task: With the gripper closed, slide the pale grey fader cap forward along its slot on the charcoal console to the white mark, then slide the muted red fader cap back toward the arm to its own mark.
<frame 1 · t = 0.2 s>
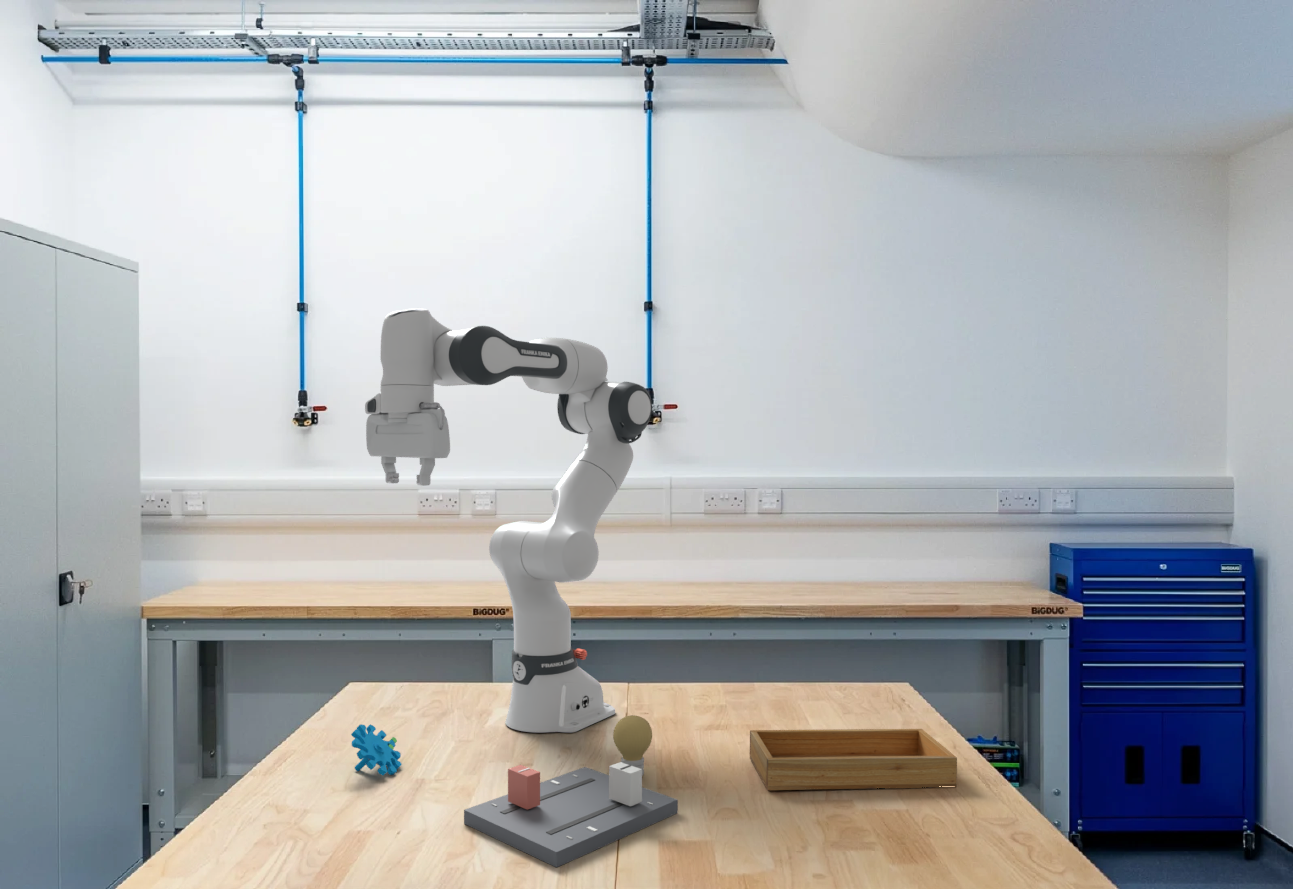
hand: (407, 484, 159), 48 cm above the table, fingers open, 8 cm apart
tray: (849, 777, 155), on the table
grey fader: (625, 783, 138), point 5 cm above the table, slide at 2.0 cm
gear: (378, 772, 156), on the table
light bulb: (632, 778, 153), on the table
red fader: (523, 786, 137), point 5 cm above the table, slide at 13.0 cm
console: (572, 818, 137), on the table
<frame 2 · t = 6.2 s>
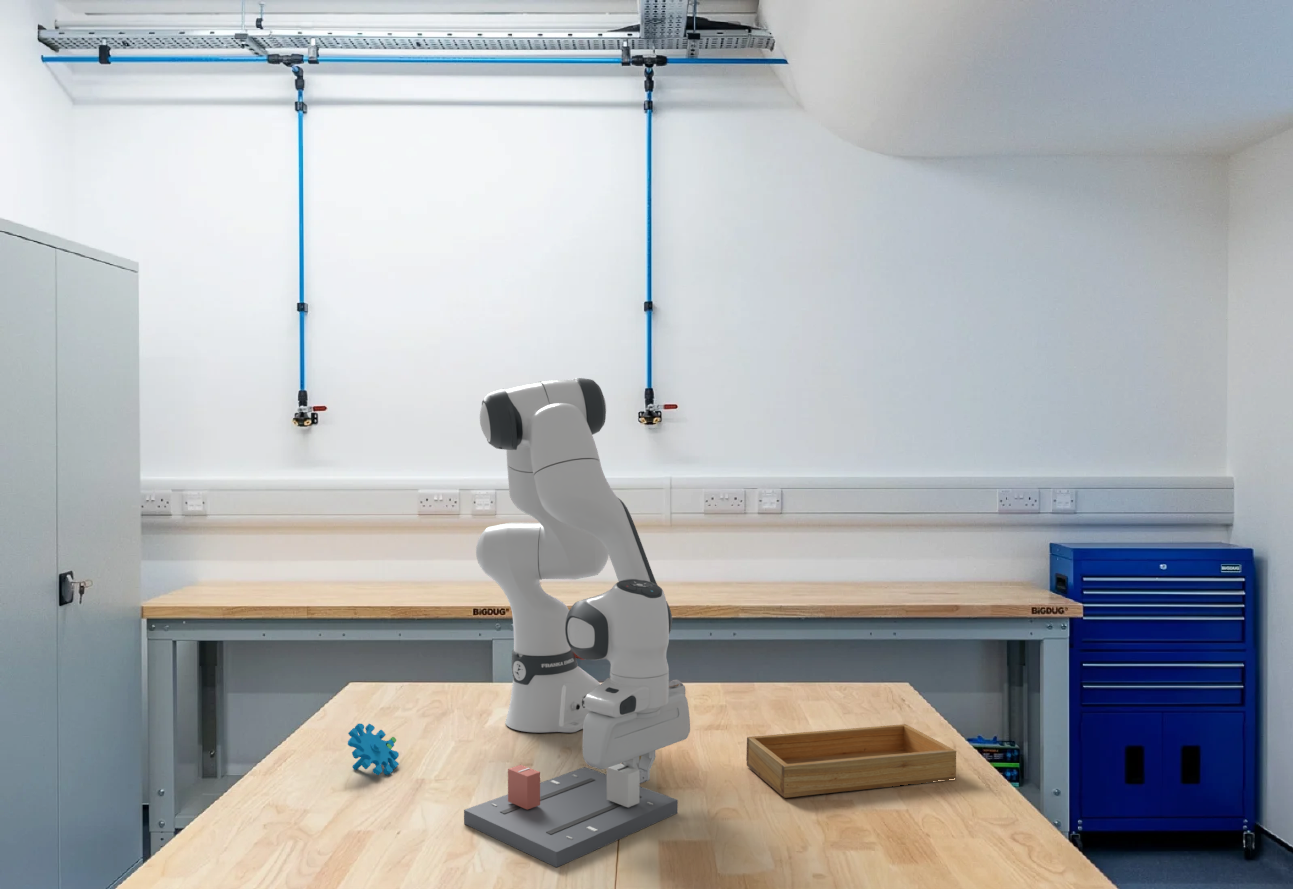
hand: (639, 782, 140), 4 cm above the table, fingers closed
grey fader: (622, 784, 137), point 5 cm above the table, slide at 2.5 cm, touching gripper
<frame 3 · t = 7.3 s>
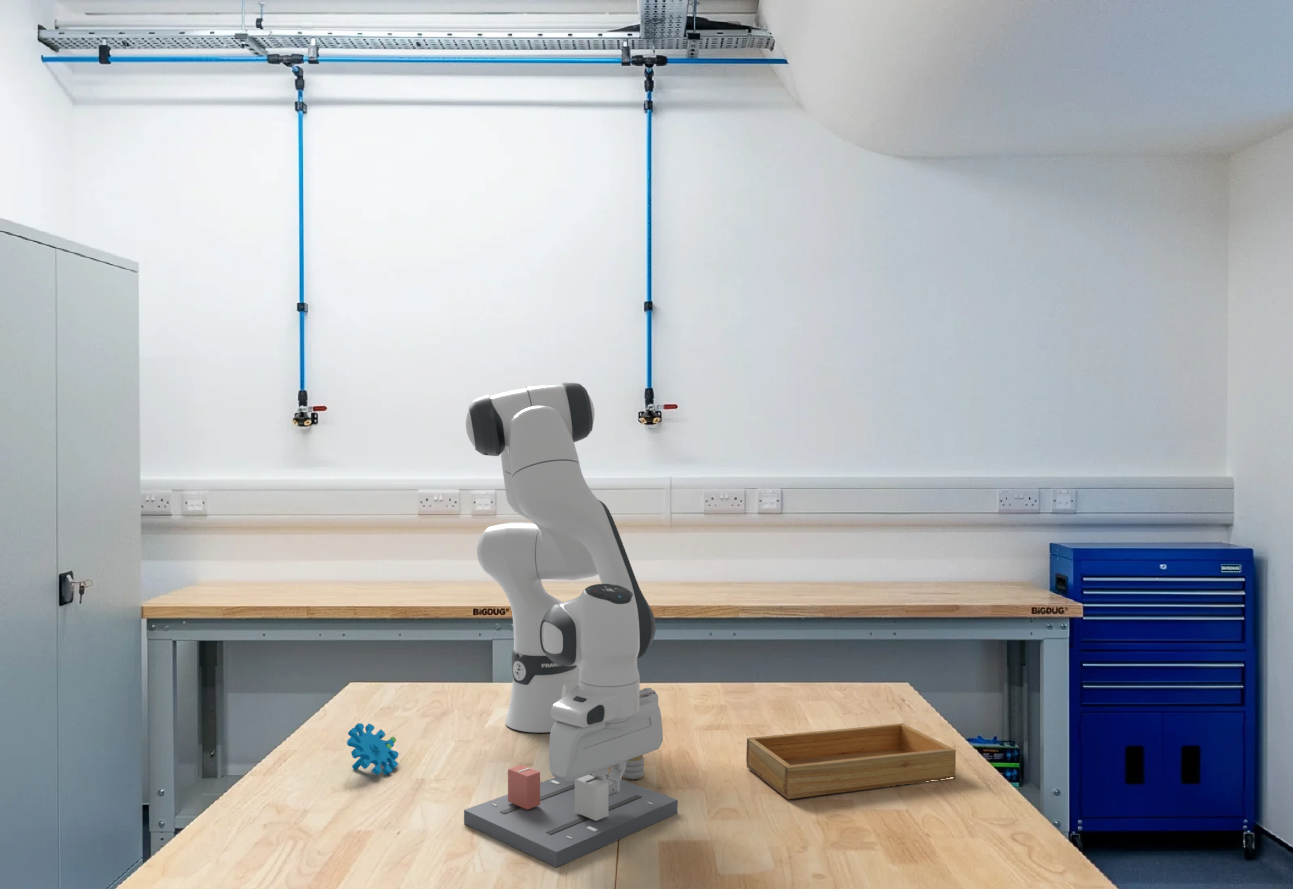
hand: (608, 794, 135), 4 cm above the table, fingers closed
grey fader: (591, 796, 133), point 5 cm above the table, slide at 8.9 cm, touching gripper
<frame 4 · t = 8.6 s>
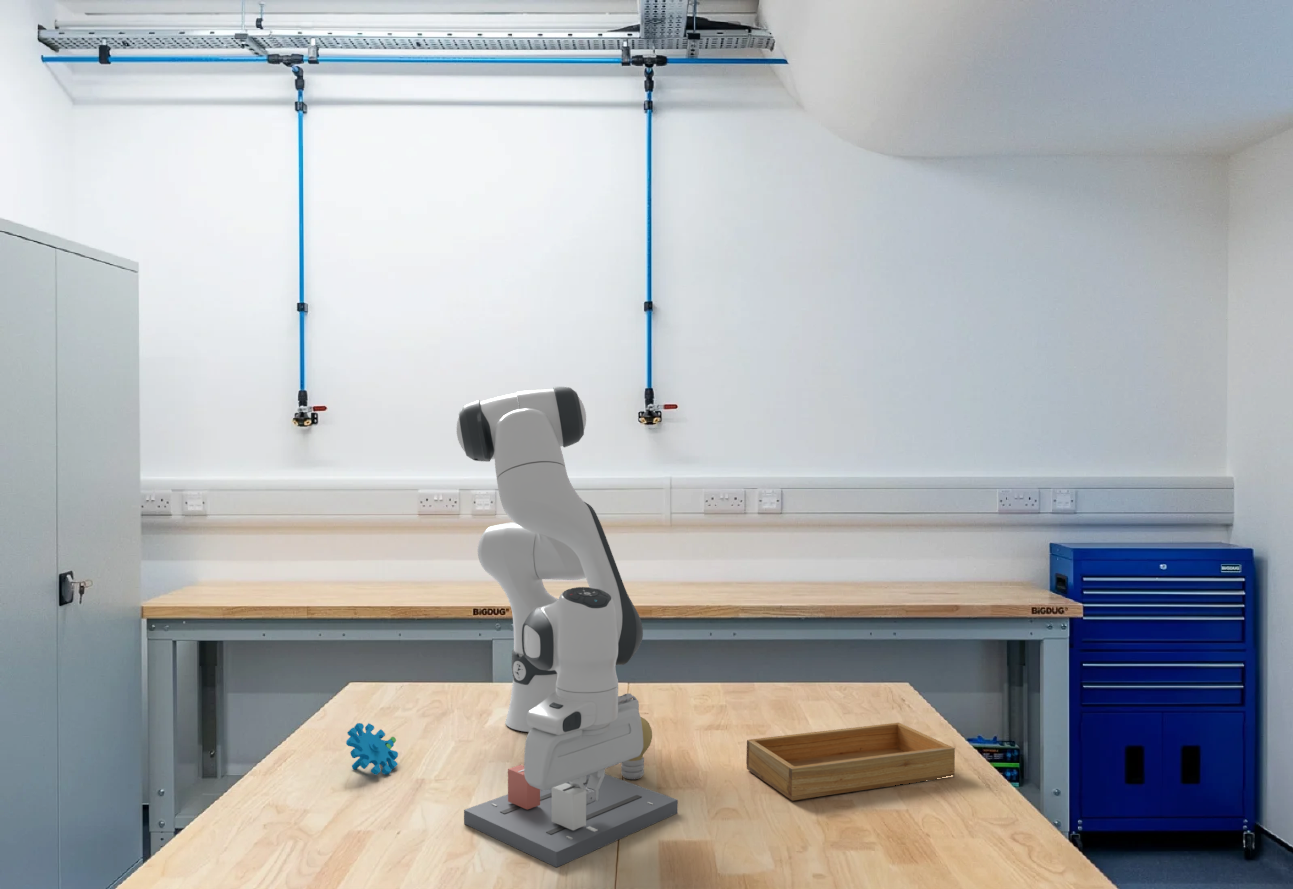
hand: (586, 803, 132), 4 cm above the table, fingers closed
grey fader: (568, 805, 130), point 5 cm above the table, slide at 13.3 cm, touching gripper
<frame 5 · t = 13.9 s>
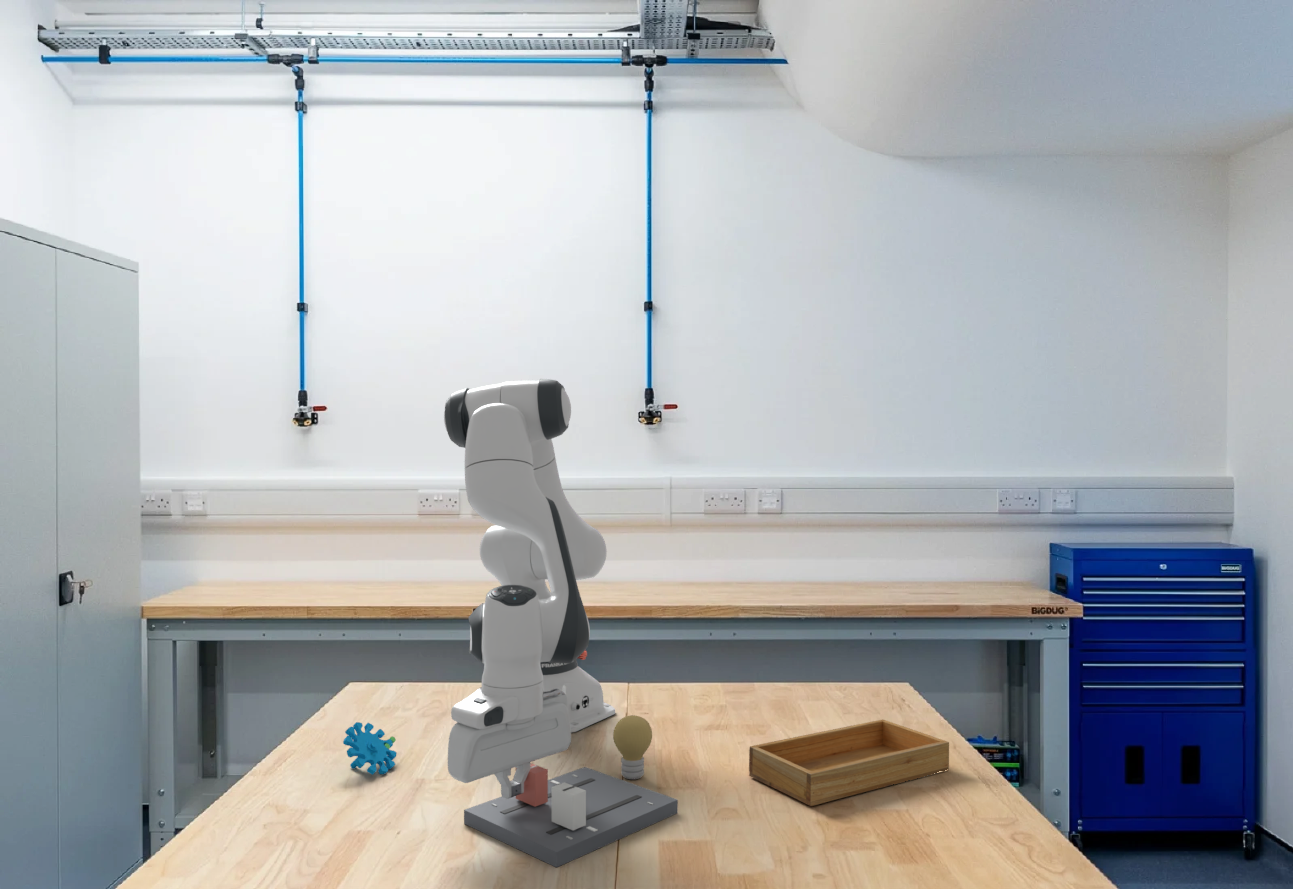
hand: (512, 795, 135), 4 cm above the table, fingers closed
grey fader: (568, 805, 130), point 5 cm above the table, slide at 13.3 cm
red fader: (531, 783, 138), point 5 cm above the table, slide at 11.5 cm, touching gripper
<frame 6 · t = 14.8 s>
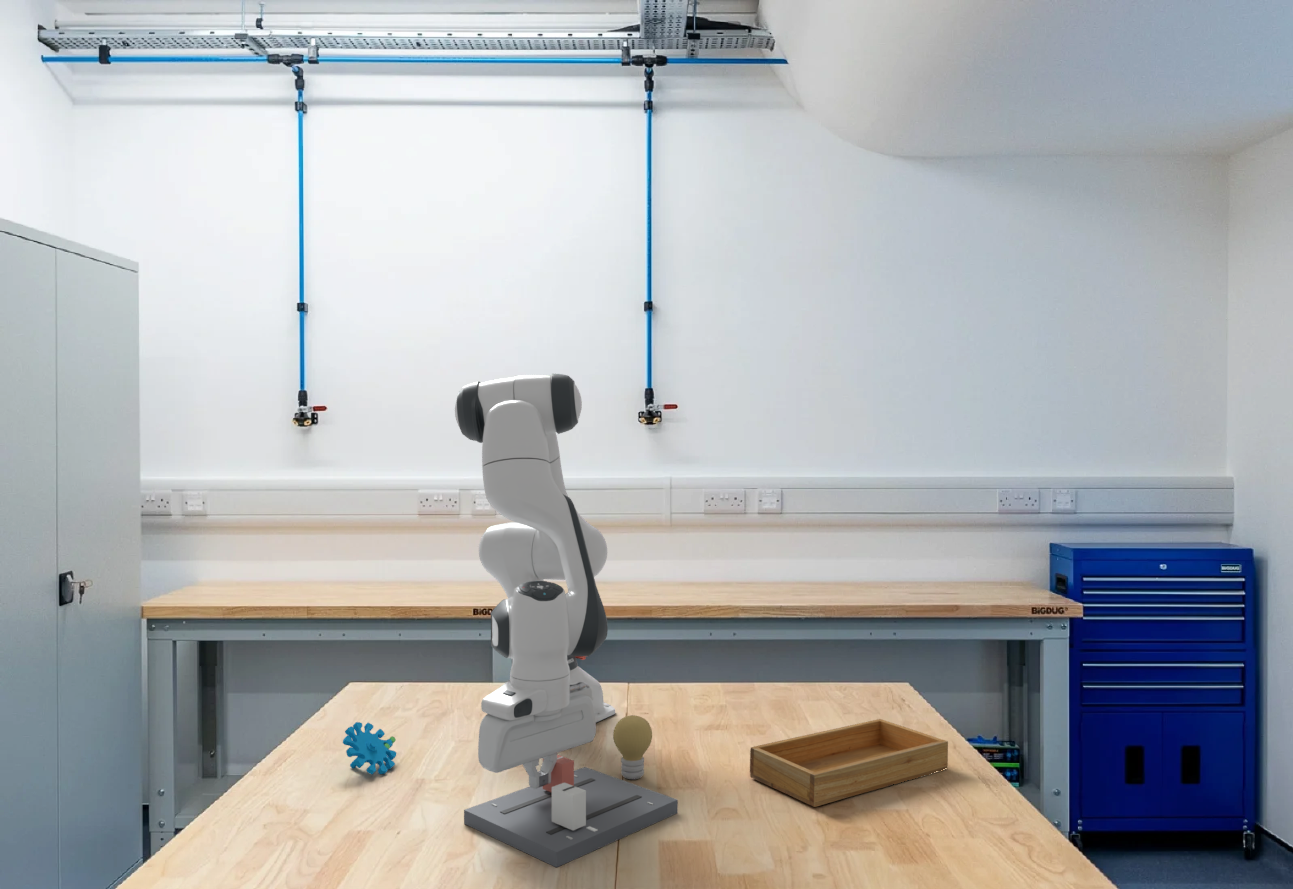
hand: (540, 785, 139), 4 cm above the table, fingers closed
red fader: (558, 774, 141), point 5 cm above the table, slide at 6.3 cm, touching gripper
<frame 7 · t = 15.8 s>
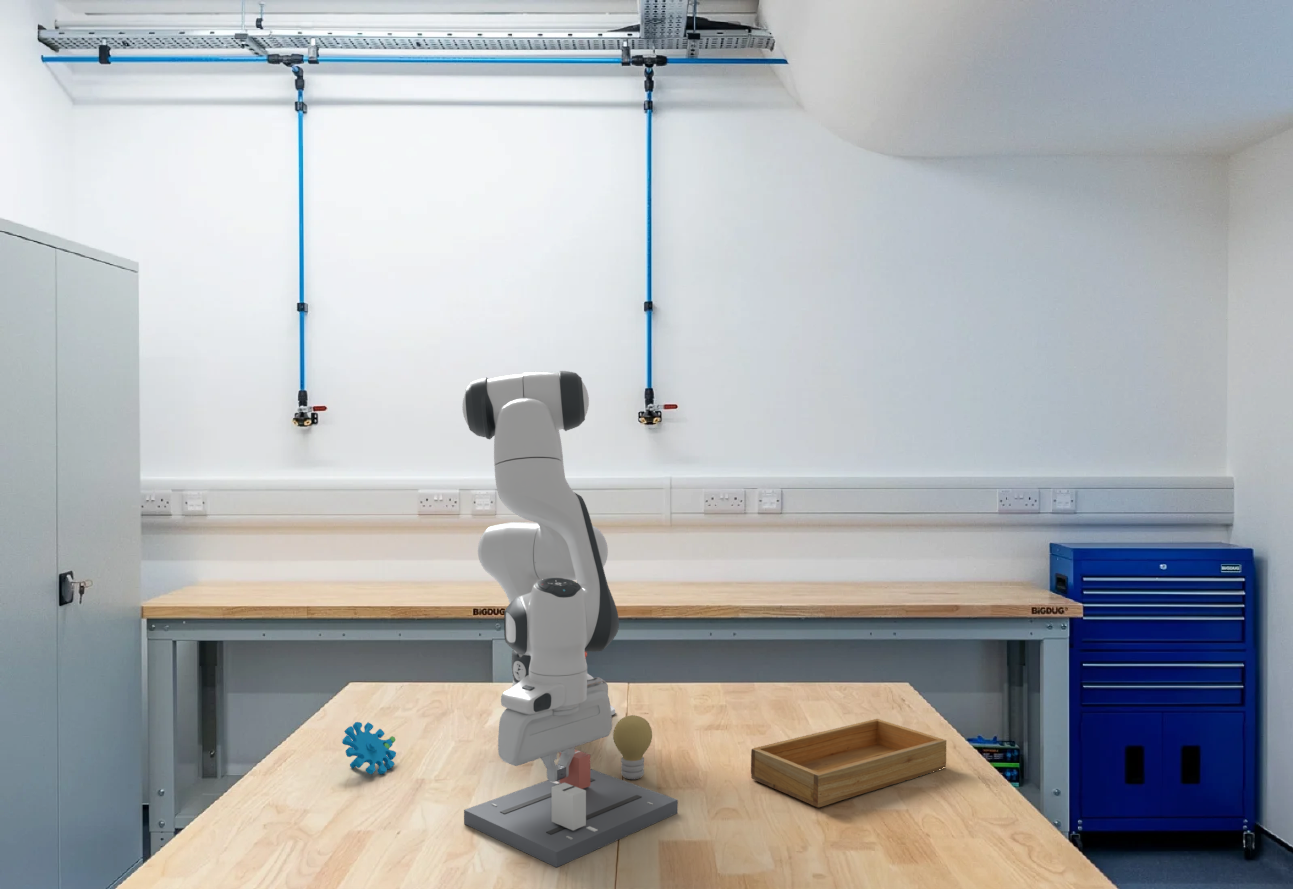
hand: (557, 778, 142), 4 cm above the table, fingers closed
red fader: (574, 768, 144), point 5 cm above the table, slide at 2.9 cm, touching gripper
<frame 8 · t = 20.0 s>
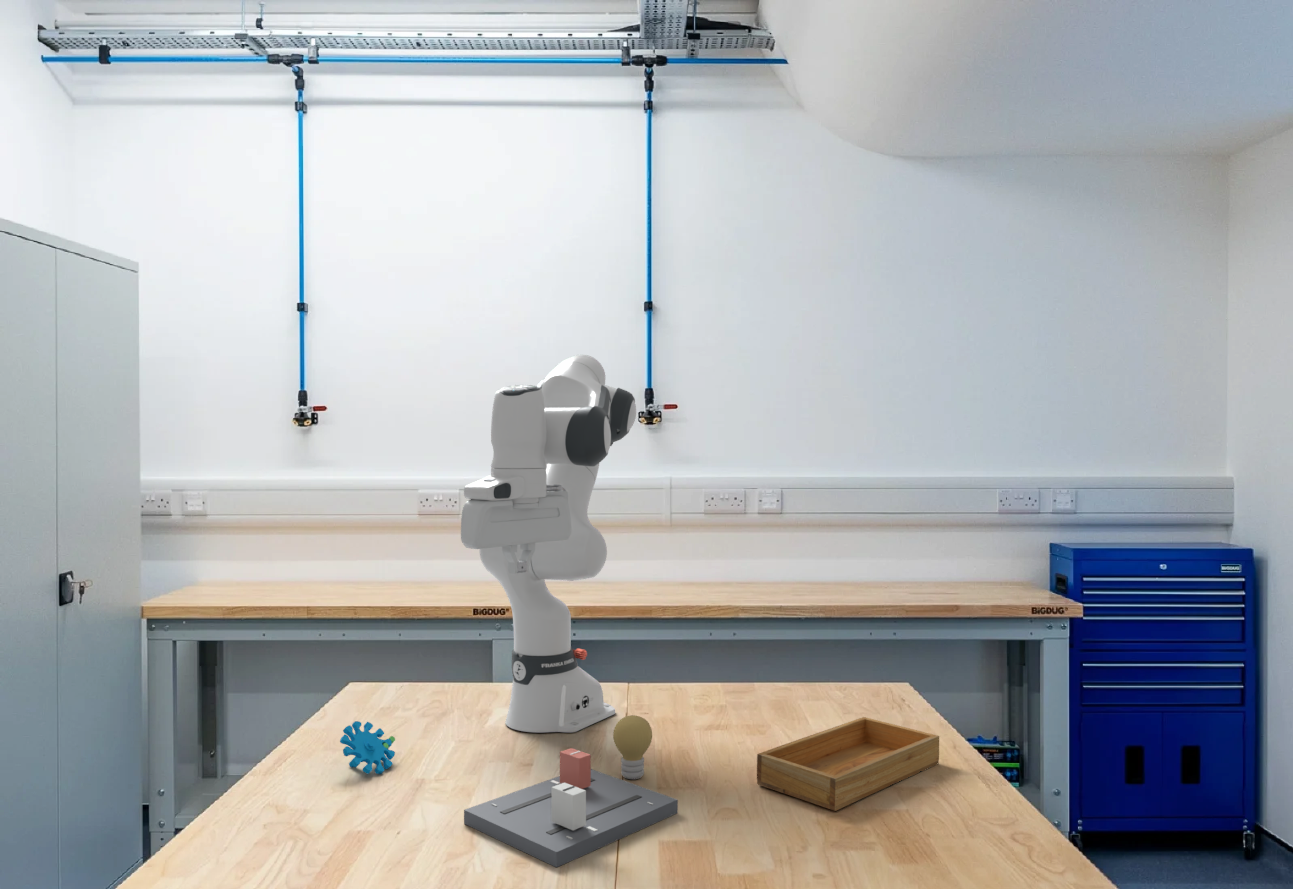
hand: (518, 572, 150), 34 cm above the table, fingers closed
red fader: (575, 768, 144), point 5 cm above the table, slide at 2.8 cm
at the end: grey fader slide at 13.3 cm; red fader slide at 2.8 cm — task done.
